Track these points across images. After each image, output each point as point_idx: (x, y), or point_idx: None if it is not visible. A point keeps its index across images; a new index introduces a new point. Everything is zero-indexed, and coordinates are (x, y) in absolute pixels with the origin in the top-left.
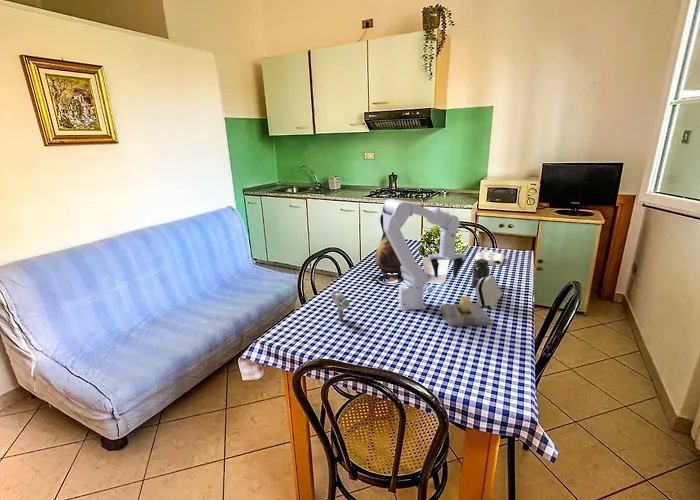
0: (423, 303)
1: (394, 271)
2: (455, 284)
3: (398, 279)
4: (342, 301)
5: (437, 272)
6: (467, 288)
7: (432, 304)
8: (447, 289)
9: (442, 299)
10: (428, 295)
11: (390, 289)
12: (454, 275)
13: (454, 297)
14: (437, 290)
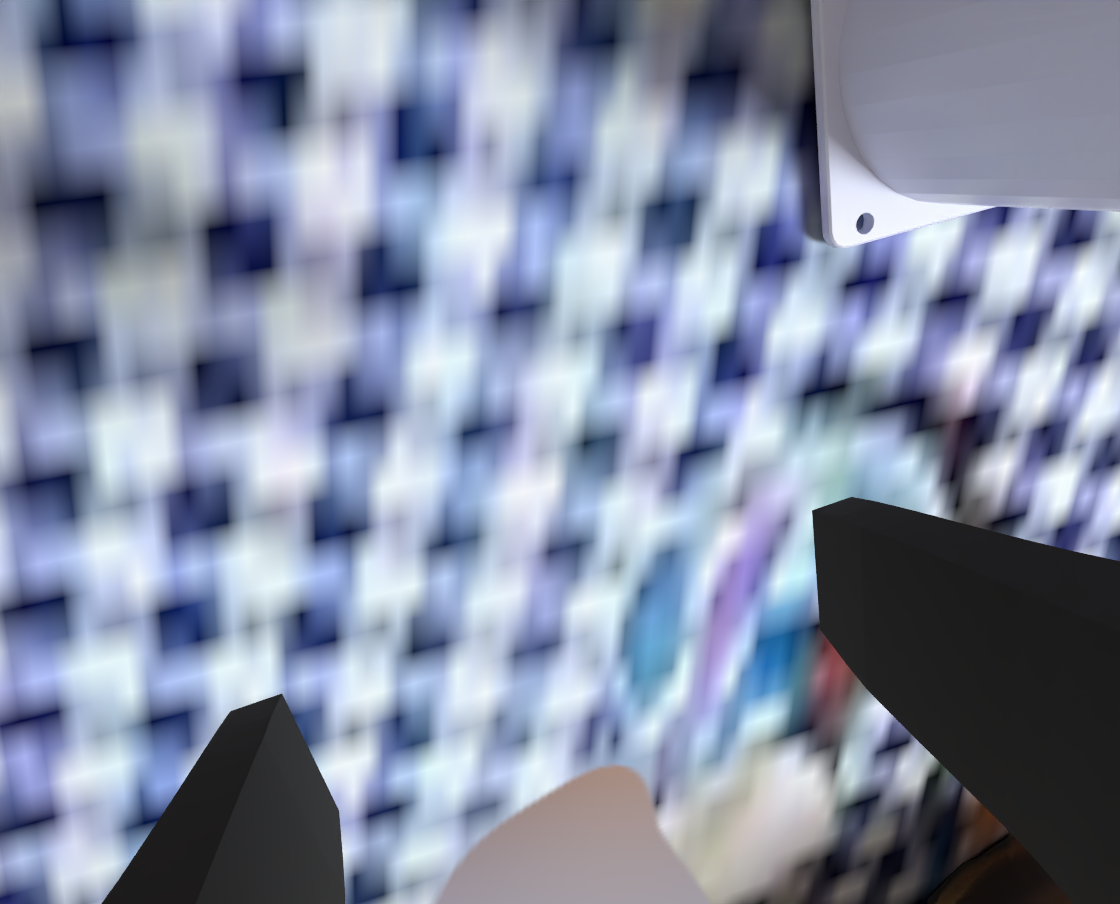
0: (824, 78)
1: (1040, 888)
2: None
3: (961, 786)
4: None
5: (972, 557)
6: (89, 837)
7: (669, 117)
8: (410, 712)
9: (496, 348)
10: (694, 449)
11: (1098, 516)
12: (287, 740)
13: (293, 465)
14: (556, 641)
